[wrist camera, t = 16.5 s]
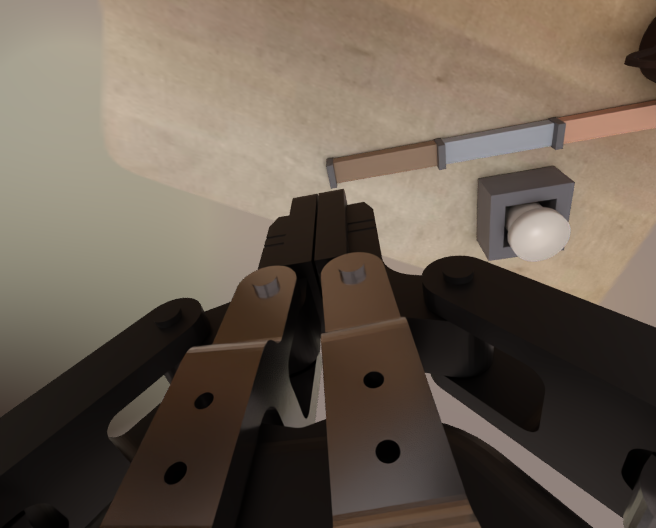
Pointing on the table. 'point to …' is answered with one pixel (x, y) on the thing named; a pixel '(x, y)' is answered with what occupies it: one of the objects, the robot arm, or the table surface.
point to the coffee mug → (645, 54)
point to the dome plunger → (535, 231)
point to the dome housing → (517, 203)
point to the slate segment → (494, 142)
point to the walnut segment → (381, 162)
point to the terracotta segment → (603, 123)
